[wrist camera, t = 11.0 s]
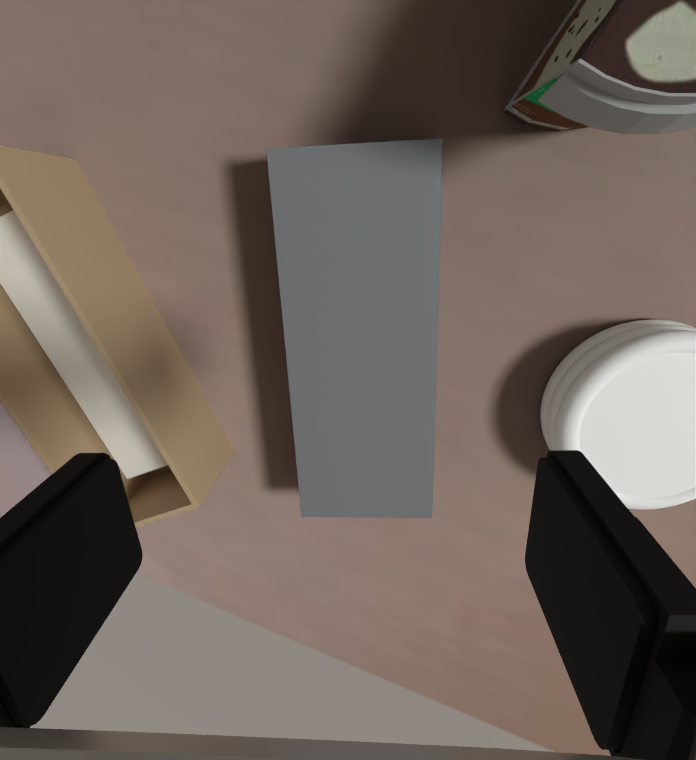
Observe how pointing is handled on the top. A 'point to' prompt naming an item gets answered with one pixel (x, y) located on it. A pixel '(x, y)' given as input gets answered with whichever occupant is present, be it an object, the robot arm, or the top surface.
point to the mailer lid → (360, 321)
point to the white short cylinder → (630, 410)
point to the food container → (615, 70)
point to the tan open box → (94, 345)
